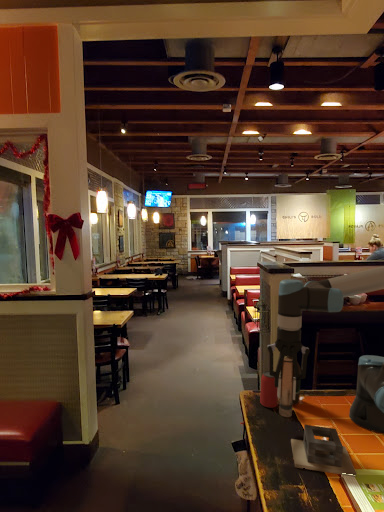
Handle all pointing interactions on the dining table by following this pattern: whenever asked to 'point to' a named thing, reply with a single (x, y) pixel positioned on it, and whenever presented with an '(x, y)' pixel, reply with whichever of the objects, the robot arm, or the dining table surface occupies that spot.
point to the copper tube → (286, 388)
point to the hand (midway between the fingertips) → (286, 397)
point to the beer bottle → (297, 392)
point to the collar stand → (321, 451)
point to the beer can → (268, 391)
